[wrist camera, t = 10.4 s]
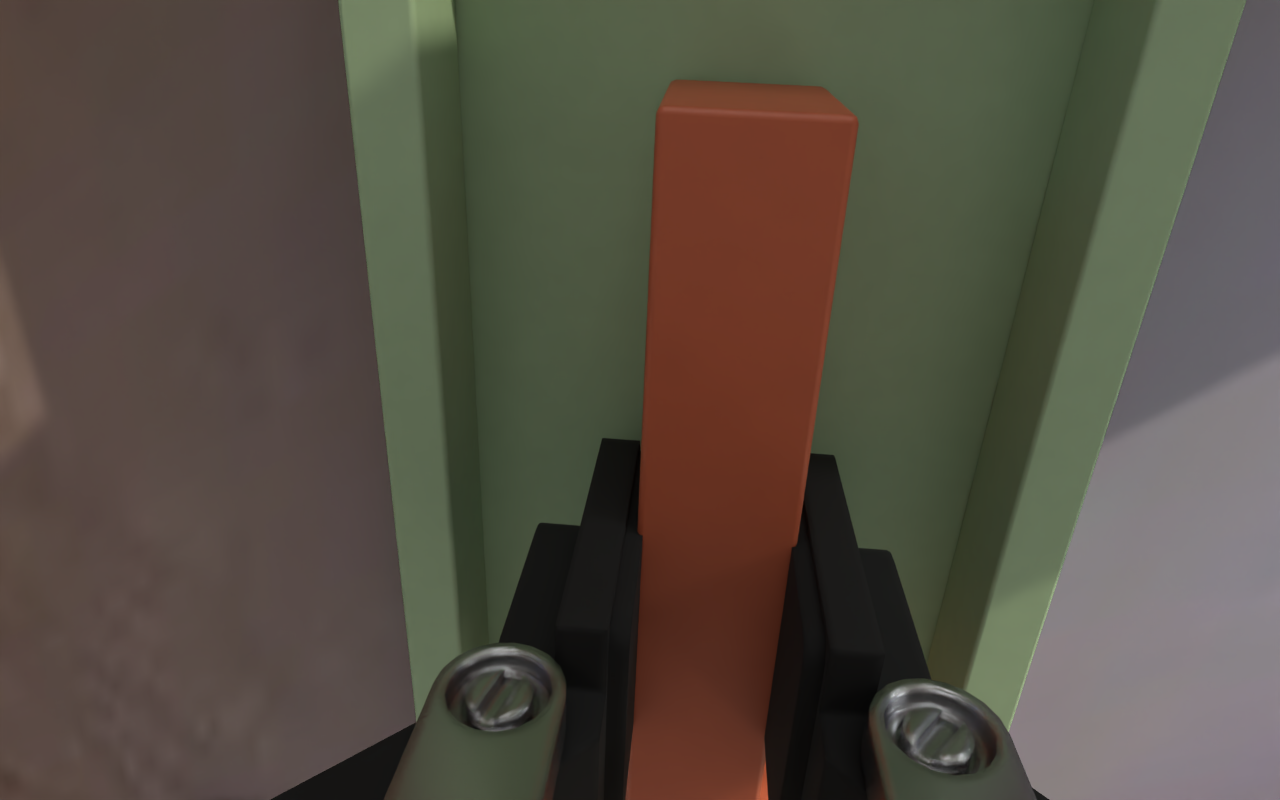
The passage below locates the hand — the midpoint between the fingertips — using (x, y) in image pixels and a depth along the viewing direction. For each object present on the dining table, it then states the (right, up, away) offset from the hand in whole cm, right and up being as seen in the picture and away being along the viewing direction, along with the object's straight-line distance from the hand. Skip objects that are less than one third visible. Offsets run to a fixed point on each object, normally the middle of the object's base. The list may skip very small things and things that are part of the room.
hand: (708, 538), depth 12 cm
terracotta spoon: (0, -2, +1) cm, 2 cm away
